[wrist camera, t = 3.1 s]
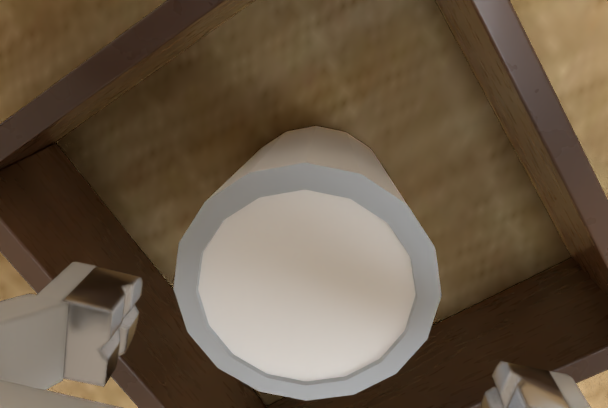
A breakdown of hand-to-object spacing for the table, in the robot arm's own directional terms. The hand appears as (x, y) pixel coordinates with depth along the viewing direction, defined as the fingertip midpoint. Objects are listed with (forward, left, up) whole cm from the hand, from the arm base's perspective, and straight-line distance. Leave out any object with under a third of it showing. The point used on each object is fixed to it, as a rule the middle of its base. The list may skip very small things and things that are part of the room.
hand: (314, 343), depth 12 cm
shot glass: (0, 0, -9) cm, 9 cm away
